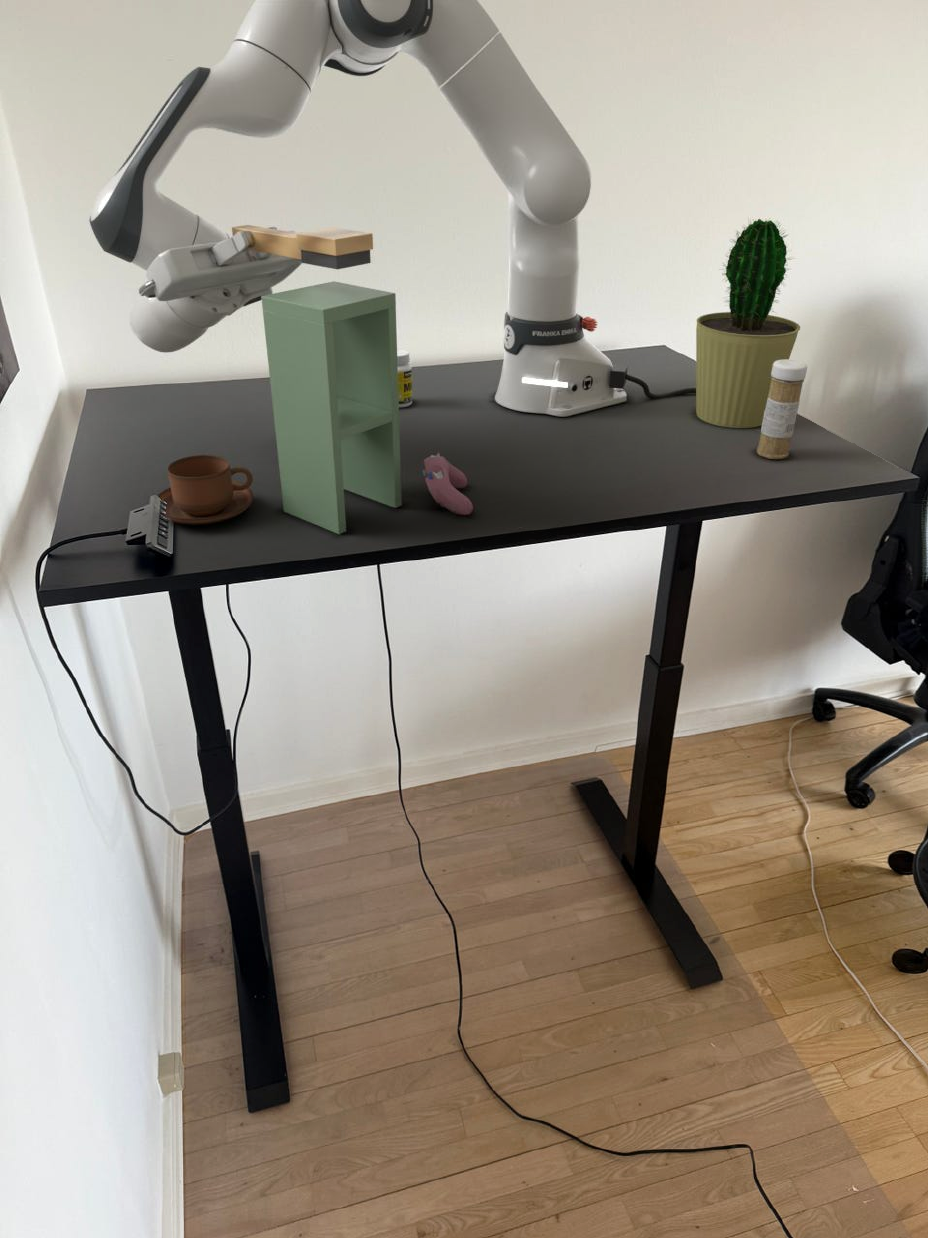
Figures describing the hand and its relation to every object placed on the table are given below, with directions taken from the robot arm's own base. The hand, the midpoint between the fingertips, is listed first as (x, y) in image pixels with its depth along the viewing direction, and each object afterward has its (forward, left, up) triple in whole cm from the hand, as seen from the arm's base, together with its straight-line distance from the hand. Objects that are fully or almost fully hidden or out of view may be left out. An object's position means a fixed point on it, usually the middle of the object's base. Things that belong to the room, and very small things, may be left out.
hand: (261, 235), depth 102 cm
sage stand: (-5, +10, -31) cm, 33 cm away
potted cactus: (-74, +2, -31) cm, 80 cm away
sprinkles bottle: (-68, +18, -31) cm, 76 cm away
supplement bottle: (-27, -26, -31) cm, 49 cm away
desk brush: (-2, +5, -2) cm, 6 cm away
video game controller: (-17, +13, -31) cm, 38 cm away
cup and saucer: (+11, +4, -31) cm, 34 cm away
